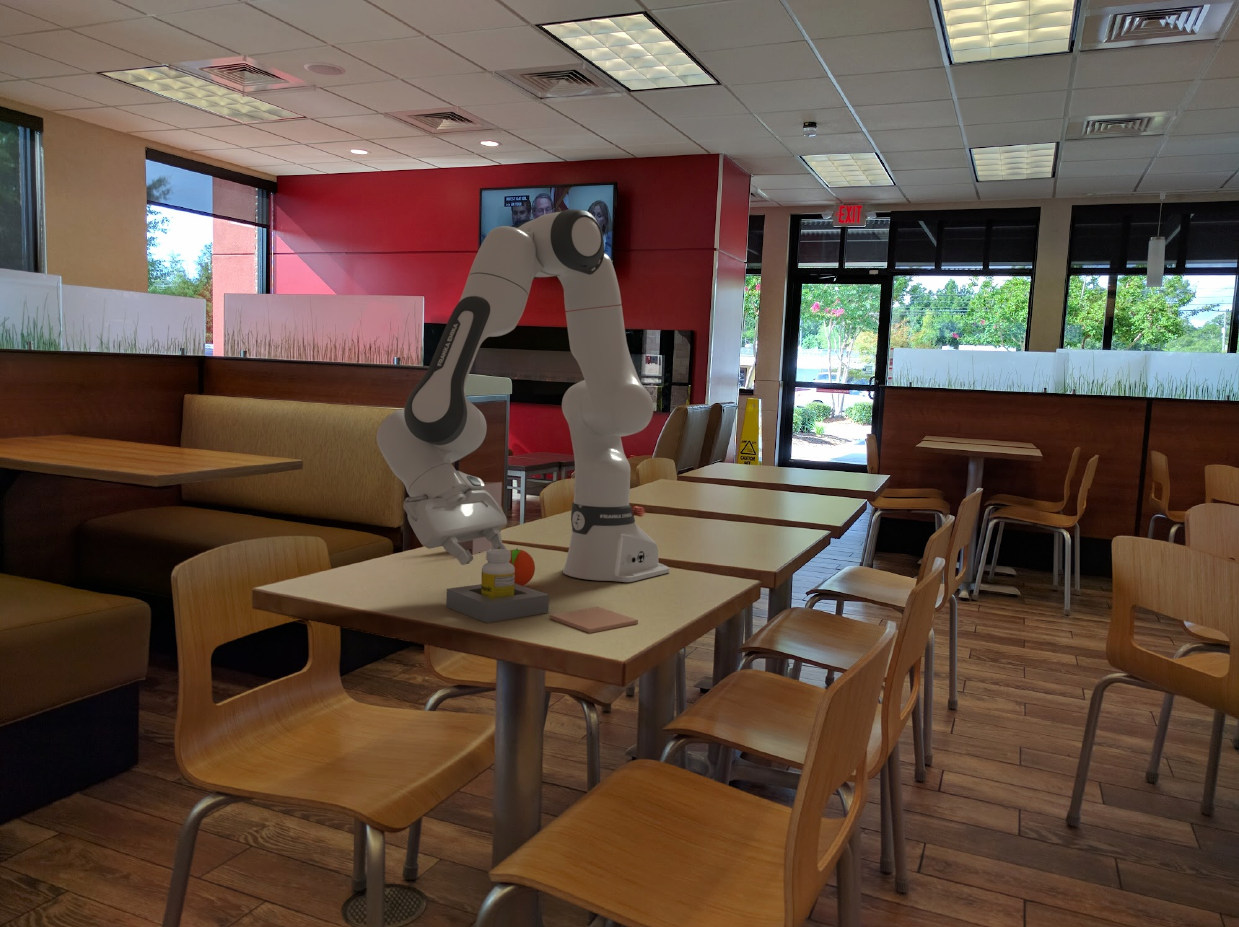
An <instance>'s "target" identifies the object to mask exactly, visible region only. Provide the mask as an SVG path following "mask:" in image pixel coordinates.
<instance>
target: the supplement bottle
mask: <svg viewBox="0 0 1239 927" xmlns="http://www.w3.org/2000/svg"><path fill="white" fill-rule="evenodd" d="M509 550H510V549H507V550H505V549H491V550H487V551H485V553H486V554H485V555H486V556H485V559H486V561H487V563H486V562H485V563H484V564H483V565H482V567H481V595H483V596H486V597H488V598H491V599H493V598H500V597H507V596H514V579H515V568H514V566H513V565H512V564H511V563H509V561H510V560H511V551H509Z"/></svg>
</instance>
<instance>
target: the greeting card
mask: <svg viewBox="0 0 1239 927" xmlns="http://www.w3.org/2000/svg"><path fill="white" fill-rule="evenodd" d="M483 483H484V484H485V487H484V488H483V489H482V490H485V491H487V492H488V493H489V494H490V495H491V496H492V497H493V498H494V500H495V501H496V502H497V504H498V505H499V507H500V508H501V509H502V495H503V494H502V491H503V490H502V489H503V488H502V487H503V482H502V481H499V482H497V481H496V482H495V481H493V482H492V481H491V482H489V481H488V482H486V481H485V482H484V481H483ZM458 544H459V545H460V546H461V547H462V548H464V549H465V550H472V553H471V555H472V556H474V555H477V554H480V553H479V552H481V553H484V551H485V552H487V550H490V549H492V548H493V547H492V544H491V541H488V540H487V539H486V537H483V538H478V539H474V540H469V541H464V542H459V543H458ZM473 554H474V555H473Z"/></svg>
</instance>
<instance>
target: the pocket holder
mask: <svg viewBox="0 0 1239 927" xmlns="http://www.w3.org/2000/svg"><path fill="white" fill-rule="evenodd" d="M445 599H446V604H445V606H446V608H449V609H451V610H453V611H456V612H458V613H460V614H462V615H466V616H469V617H471V618H472V619H476V620H478V621H480V622H483V623H485V624H489V623H495V622H502V621H507V620H514V619H519V618H524V617H531V616H536V615H542V614H548V613H549V606H550V605H549V604H550V594H548V593H546V592H542V591H539V590H536V589H533V588H530V587H527V586H525V585H523V586H521V585H518V584H515V583H514V596H507V597H500V598H493V599H491V598H488V597H486V596H483V595H481V584H474V585H464V586H457V587H450V588H446V598H445Z"/></svg>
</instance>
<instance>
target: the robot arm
mask: <svg viewBox="0 0 1239 927" xmlns="http://www.w3.org/2000/svg"><path fill="white" fill-rule="evenodd" d="M605 248H606V247H605V239H604V234H603V231H602V228H601V226H600V224H599V222H598V221H597V219H596V218H595V216H594V215H592V213H591V212H589V211H586V210H582V209H575V208H573V209H570V208H569V209H564V210H561V211H556V212H551V213H545V214H542V215H540V216H538V217H537V218H533V219H531V220H529V221H524V222H521V223H519V224H518V225H516V226H515V227H514V226H508V225H502V226H497V227H495V228H493V229H491V230H490V231H489V232H488V233H487V234H486V236H485V237H484V239H483V241H482V243H481V244H480V246H479V249H478V251H477V253H476V255H475V257H474V260H473V262H472V265H471V267H470V270H469V273H468V276H467V279H466V282H465V285H464V288H463V291H462V293H461V296H460V299H459V301H458V303H457V304H456V305H455V307H454V309H453V310H452V312H451V314H450V316H449V318H448V321H447V323H446V326H445V328H444V330H443V331H442V335H441V337H440V340H439V341H438V344H437V347H436V349H435V352H434V354H433V356H432V358H431V361H430V364H429V365H428V368H427V370H426V372H425V374H424V375H423V377H421V379H420V381H419V382H418V383H417V384H416V385H415V387H414V388H413V389H412V390H411V391H410V393H409V395H408V396H407V398H406V402H405V404H404V409H398V410H395V411H393V412H392V413H390V414H389V415H388V416H386V417H385V419H384V420H383V421H381V423H380V425H379V427H378V429H377V431H376V443H377V446H378V449H379V451H380V452H381V455H382V457H383V458H384V460H385V462H386V463H387V465H388V467H389V468H390V470H391V471H392V473H393V475H394V476H395V477H397V478H398V479H399V480H401V482H402V483H403V485H404V486H405V489H406V492H407V494H408V497H406V498H405V499H404V501H403V505H402V507H403V510H404V512H406V514H407V520H408V523H409V525H410V526H411V528H412V530H413V533H414V534H415V536H416V538H417V540H418V541H419V542H420V544H421V545H422V546H424V547H425V548H426V549H428V550H430V549H435V548H439V547H442V548H443V549H444V551H446V552H447V553H448V554H450V555H451V556H452V557H454V558H456V560H457V561H458V562H459V564H460V565H462V566H466V565H468V564H470V563H472V561H473V560H474V555H472V553H471V551H470V549H464V548H462V547H461V546H460V545H459V544H458V543H459V542H464V541H469V540H474V539H478V538H483V537H486V539H487V540H488V541H491V544H492V547H493V548H492V549H505V550H508V548H507V547H506V546H505V544H504V543H503V540H502V534H501V531H502V530H503V529H504V528H505V527H506V526H507V524H508V518H507V516H506V514H505V513H504V511H503V510H502V507H501V508H500V507H499V505H498V504H497V502H496V501H495V500H494V498H493V497H492V496H491V495H490V494H489V493H488V492H487V491H485V490H482V489H483V488H484V487H485V484H484V483H483V482H484V481H483V480H482V479H481V478H480V477H478V476H473V475H470V474H467V473H464V472H463V471H460V470H456V468H455V467H454V466H453V463H455V462H457V461H460V460H462V459H464V458H465V457H467V456H468V455H471V454H472V453H474V452H475V451H477V450H478V449H479V448H480V447H481V446H482V445H483V443H484V441H485V440H486V437H487V435H488V434H487V433H488V423H487V419H486V417H485V415H484V414H483V412H482V411H481V410H480V409H478V407H476V405H474V404H473V403H472V402H471V401H470V400H469V399H467V396H466V382H467V381H468V377H469V374H470V373H471V370H472V367H473V364H474V362H475V359H476V356H477V354H478V353H479V352H478V351H479V350H480V347H481V345H482V343H483V342H484V341H485V340H486V339H487V338H489V337H490V338H491V337H492V338H493V337H501V336H504V335H507V334H509V333H510V332H512V331H514V330H515V328H516V327H517V325H518V324H519V321H520V320H521V318H522V316H523V313H524V311H525V308H526V305H527V302H528V298H529V295H530V291H531V288H532V283H533V281H534V279H535V280H536V279H539V278H548V277H557V278H558V280H559V282H560V283H561V286H562V289H563V298H564V299H563V300H564V310H565V317H566V325H567V326H566V327H567V328H566V329H567V335H568V341H569V349H570V353H571V354H572V356H573V358H574V359H575V360H576V362H577V364H578V366H579V368H580V372H581V373H582V376H583V379H584V380H581V381H579V382H577V383H574V384H573V385H572V386H570V387H568V389H567V390H566V391H565V393H564V395H563V397H562V401H561V410H562V414H563V416H564V418H565V420H566V422H567V424H568V428H569V433H570V434H569V435H570V439H571V443H572V450H573V459H574V491H573V495H574V496H573V502H572V503H571V511H570V521H571V535H570V540H569V546H568V552H567V557H566V560H565V564H564V566H563V569H562V573H563V574H564V575H566V576H569V577H572V578H577V579H580V580H581V579H583V580H589V581H590V580H591V581H604V582H605V581H607V582H608V581H609V582H611V581H612V582H621V583H622V582H623V583H632V582H636V581H641V580H645V579H648V578H653V577H657V576H661V575H665V574H669V573H670V567H668V565H665V564H663V563H660V562H659V549H658V546H657V545H658V544H657V543H656V540H655V539H653V538H652V537H651V536H649V535H648V534H647V533H646V532H645V531H644V530H643V529H642V528H641V527H640V526H639V525H638V524H636V519H635V517H636V516H637V517H639V518H642V517H643V516H644V515H645V513H646V509H645V508H644V507H643V506H636V505H635V506H634V507H632V506H631V504H630V493H631V492H630V491H631V473H632V472H631V469H632V468H631V465H630V462H629V460H628V458H627V456H626V454H625V452H624V451H625V450H624V447H623V442H622V438H621V437H627V436H631V435H634V434H638V433H640V432H642V431H644V429H646V428H647V426H648V425H650V422H651V421H652V418H653V415H654V402H653V398H652V397H651V396H652V395H651V393H649V391H648V390H647V389H646V388H645V387H644V385H643V383H642V382H641V380H640V378H639V376H638V375H639V374H638V373H637V370H636V367H635V365H634V363H633V360H632V357H631V354H630V351H629V350H630V349H629V346H628V342H627V336H626V335H627V334H626V329H625V321H624V314H623V313H624V312H623V306H622V297H621V291H620V286H619V282H618V278H617V274H616V271H615V268H614V265H613V261H612V259H611V257H610V256H609V255H608V254H607V253H605Z"/></svg>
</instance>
